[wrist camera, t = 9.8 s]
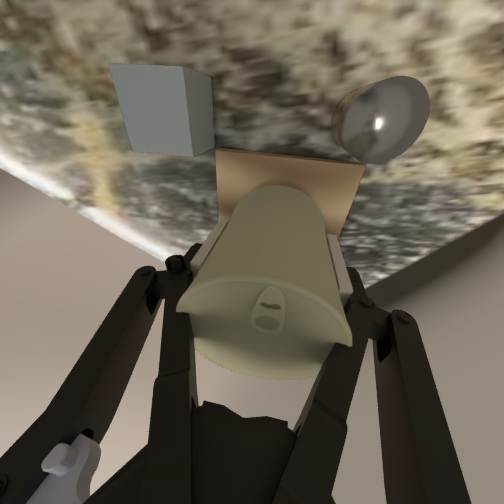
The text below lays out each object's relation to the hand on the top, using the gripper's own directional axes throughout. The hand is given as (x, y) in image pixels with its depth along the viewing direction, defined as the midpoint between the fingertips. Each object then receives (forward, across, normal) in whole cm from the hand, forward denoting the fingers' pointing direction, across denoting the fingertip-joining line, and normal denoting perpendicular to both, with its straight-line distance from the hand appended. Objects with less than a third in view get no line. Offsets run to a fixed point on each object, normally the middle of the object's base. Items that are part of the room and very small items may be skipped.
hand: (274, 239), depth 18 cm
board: (+4, 0, 0) cm, 4 cm away
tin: (+4, +5, +9) cm, 12 cm away
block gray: (+5, -10, +9) cm, 14 cm away
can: (+2, 0, 0) cm, 2 cm away
